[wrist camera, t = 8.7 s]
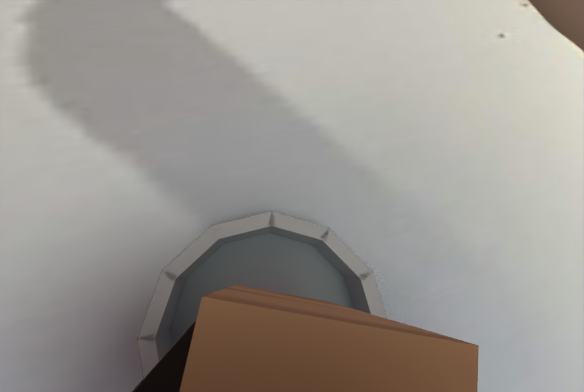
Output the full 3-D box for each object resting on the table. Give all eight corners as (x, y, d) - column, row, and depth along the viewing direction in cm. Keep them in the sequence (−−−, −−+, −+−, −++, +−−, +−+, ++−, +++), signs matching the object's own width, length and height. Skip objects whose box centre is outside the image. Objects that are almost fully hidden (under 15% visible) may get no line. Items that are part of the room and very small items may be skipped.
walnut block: (313, 405, 15) (468, 724, 4) (212, 389, 14) (107, 691, 4) (327, 301, 16) (478, 345, 5) (235, 284, 16) (202, 296, 5)
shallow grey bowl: (390, 399, 20) (420, 426, 17) (183, 475, 18) (166, 524, 15) (333, 206, 23) (348, 192, 19) (145, 252, 21) (122, 246, 17)
